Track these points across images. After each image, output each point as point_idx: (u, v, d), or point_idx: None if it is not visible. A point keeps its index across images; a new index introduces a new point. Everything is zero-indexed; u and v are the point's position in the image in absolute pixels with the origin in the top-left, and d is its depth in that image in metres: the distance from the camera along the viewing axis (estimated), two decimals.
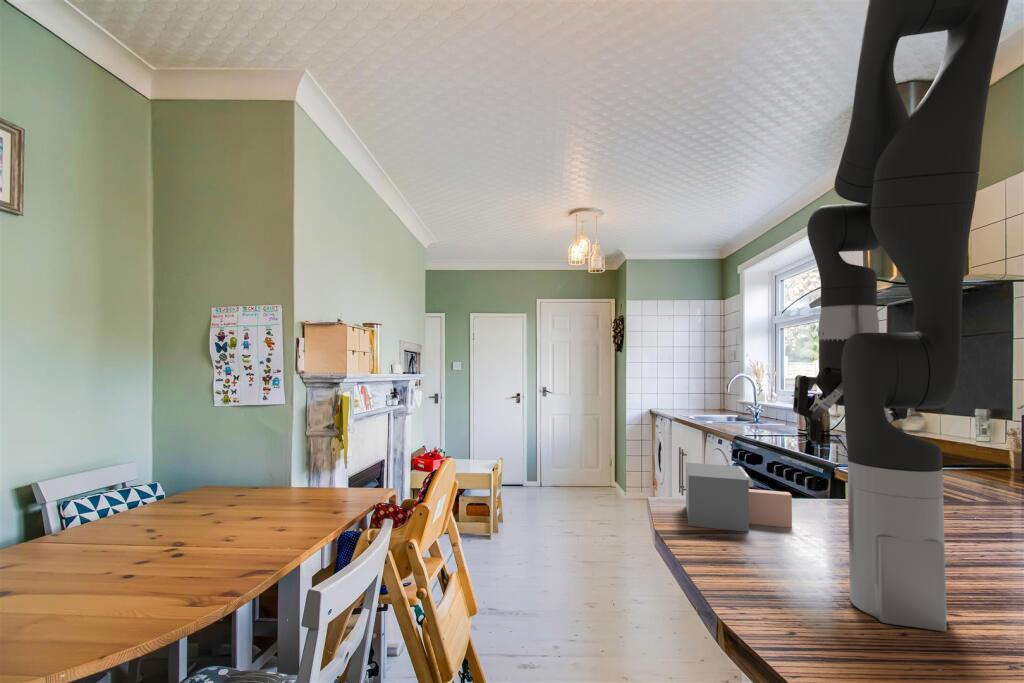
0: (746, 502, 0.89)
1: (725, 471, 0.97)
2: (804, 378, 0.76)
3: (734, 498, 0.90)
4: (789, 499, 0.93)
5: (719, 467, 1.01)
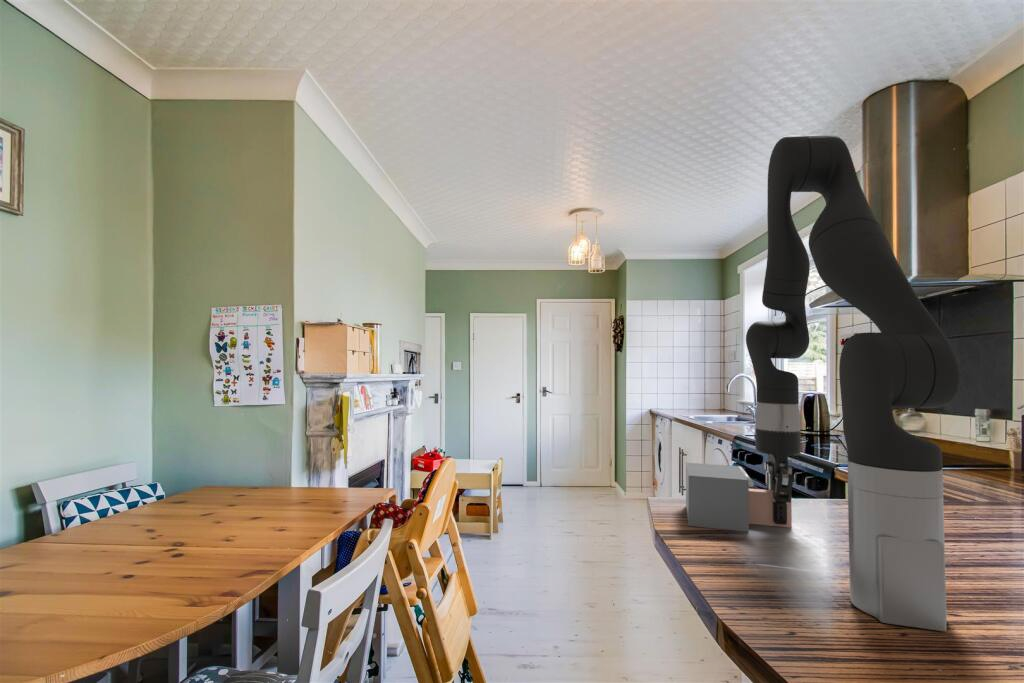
0: (746, 502, 0.89)
1: (725, 471, 0.97)
2: (792, 477, 0.88)
3: (734, 498, 0.90)
4: None
5: (719, 467, 1.01)
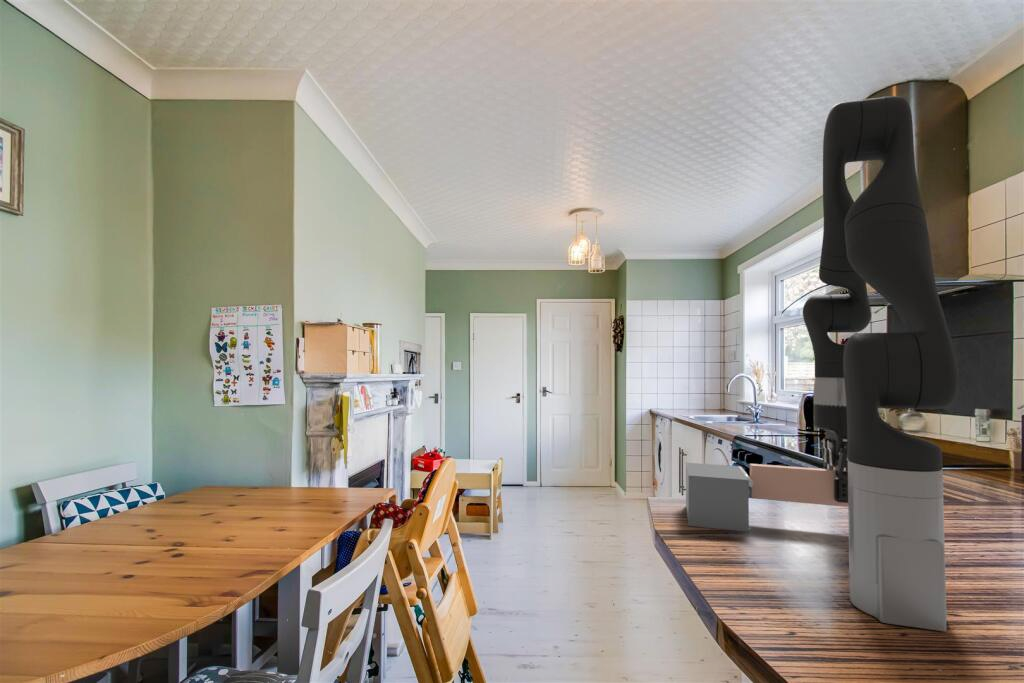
0: (746, 502, 0.89)
1: (725, 471, 0.97)
2: None
3: (734, 498, 0.90)
4: None
5: (719, 467, 1.01)
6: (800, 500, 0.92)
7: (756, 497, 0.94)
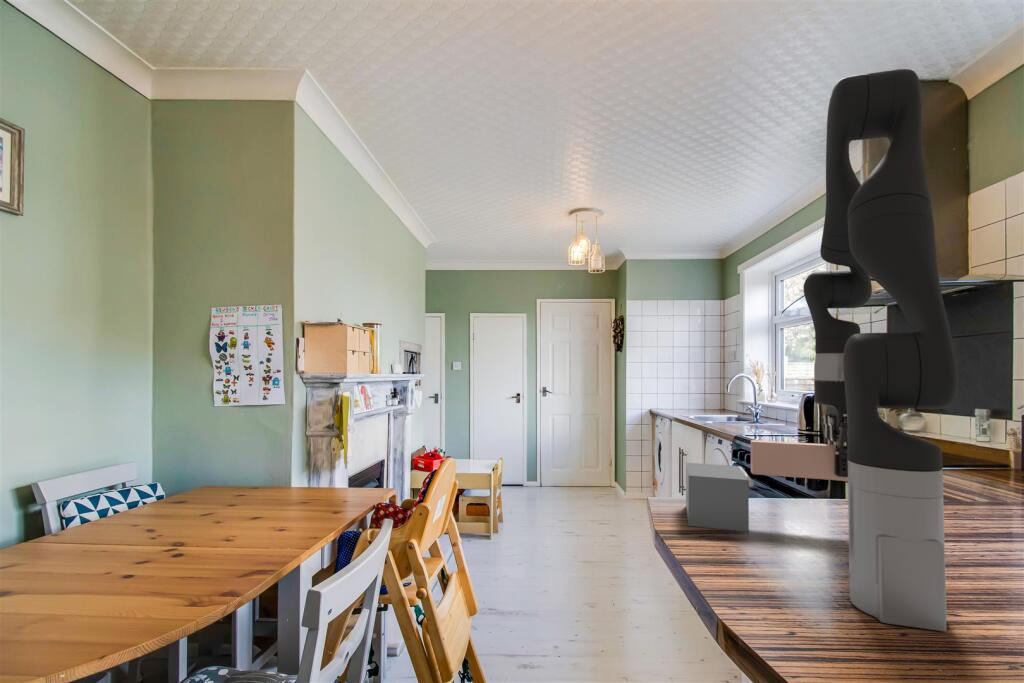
0: (746, 502, 0.89)
1: (725, 471, 0.97)
2: None
3: (734, 498, 0.90)
4: None
5: (719, 467, 1.01)
6: (801, 475, 0.92)
7: (757, 473, 0.94)
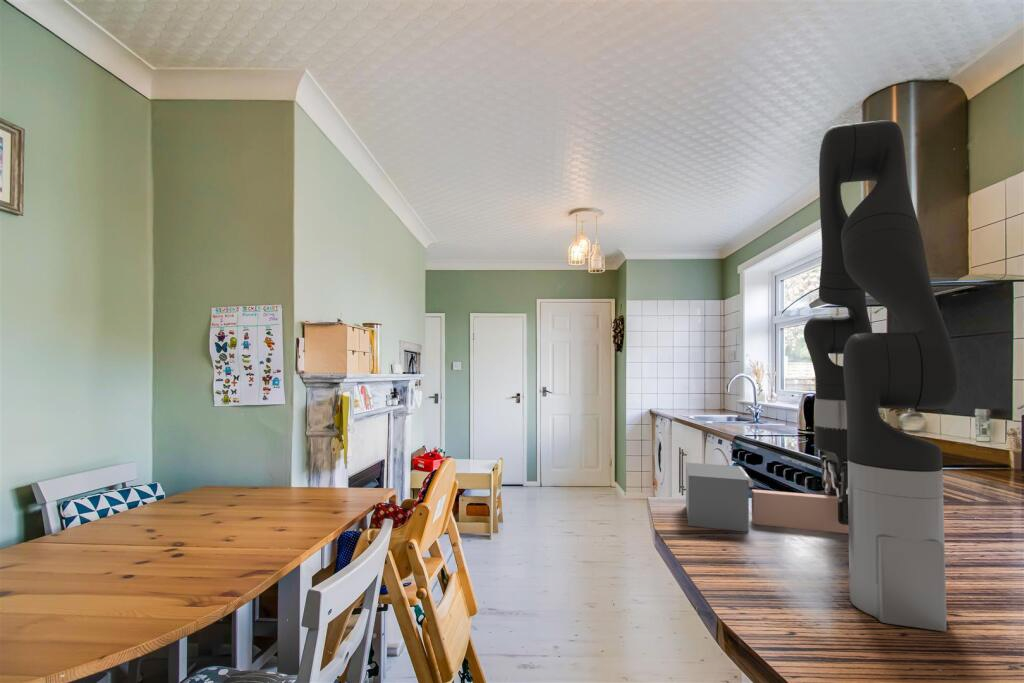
0: (746, 502, 0.89)
1: (725, 471, 0.97)
2: None
3: (734, 498, 0.90)
4: None
5: (719, 467, 1.01)
6: (802, 527, 0.92)
7: None
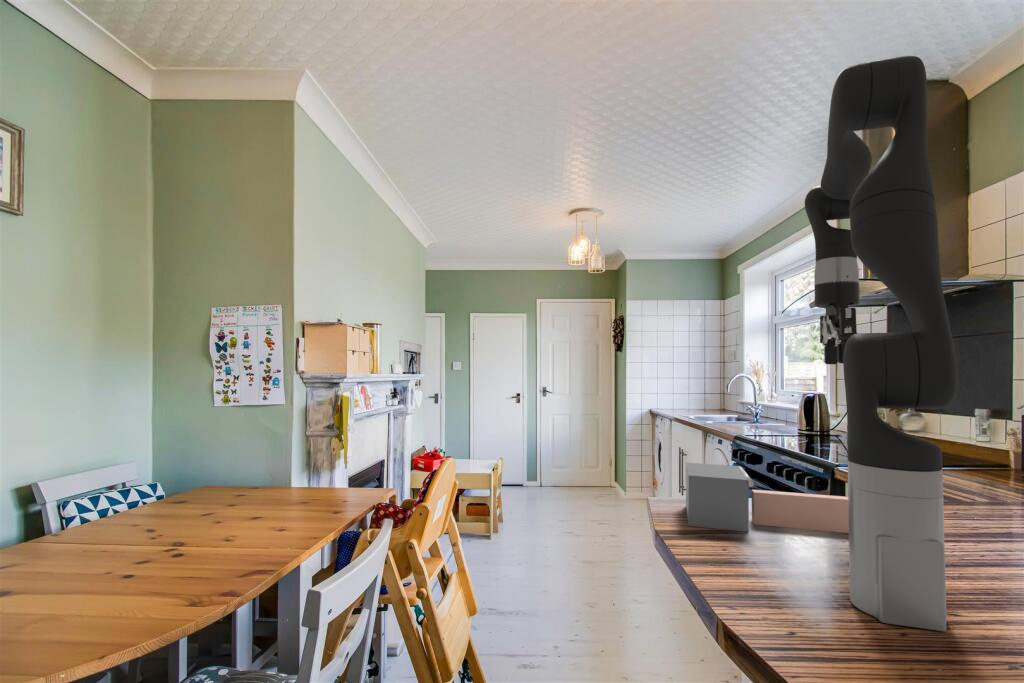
0: (746, 502, 0.89)
1: (725, 471, 0.97)
2: None
3: (734, 498, 0.90)
4: None
5: (719, 467, 1.01)
6: (802, 527, 0.92)
7: (758, 524, 0.94)
